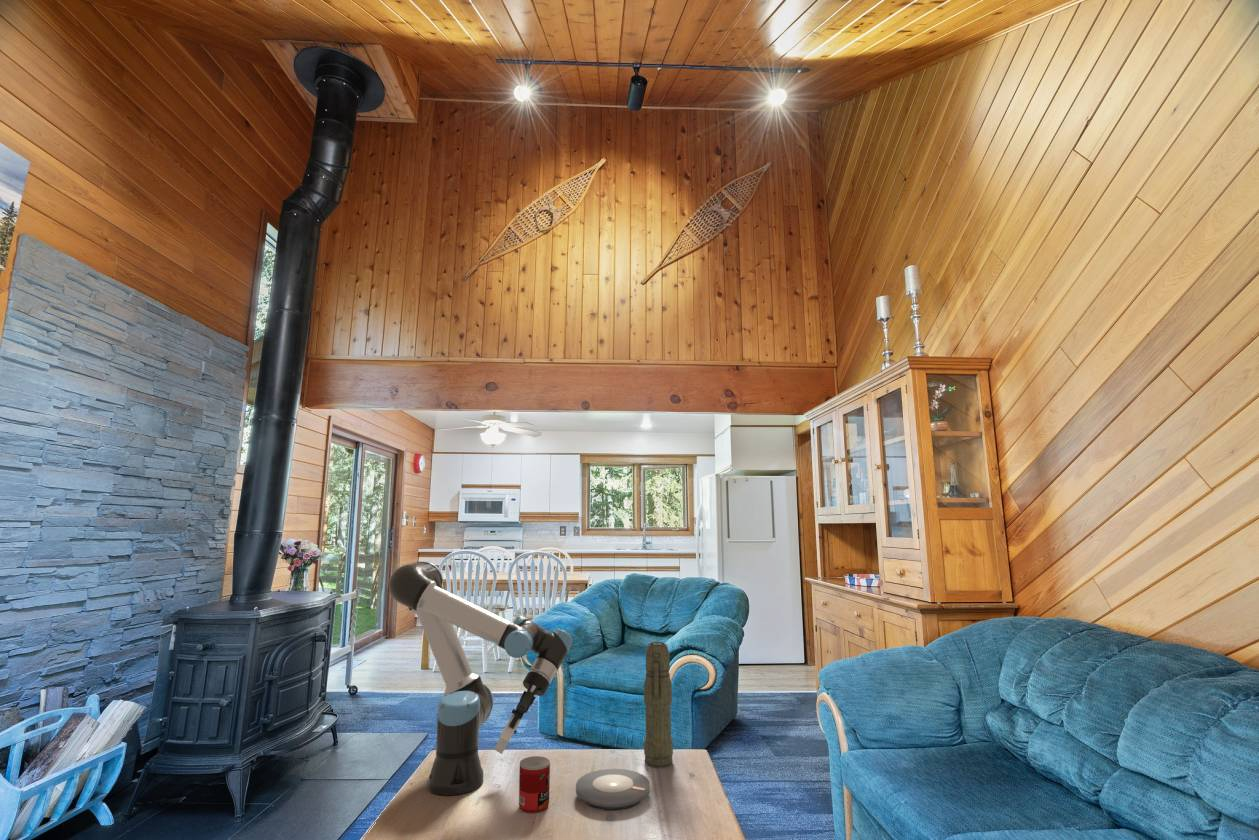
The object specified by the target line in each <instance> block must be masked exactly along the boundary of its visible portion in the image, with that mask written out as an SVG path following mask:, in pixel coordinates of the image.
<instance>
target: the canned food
mask: <svg viewBox="0 0 1259 840" xmlns="http://www.w3.org/2000/svg"><path fill="white" fill-rule="evenodd" d="M550 761H551V760H550V759H549V758H547V757H544V756H539V755H537V756H536V755H534V756H528V757H525V758H522V759H521V760H520V761H519V773H518V774H519V780H518V784H519V786H518V806H519V809H520V810H521V812H524V813H527V814H538V813H542V812H544V811H546V810H547V809H548V808H549V806H550V805H549V804H550V784H551V783H550V780H551V779H550V777H551V763H550Z"/></svg>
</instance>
